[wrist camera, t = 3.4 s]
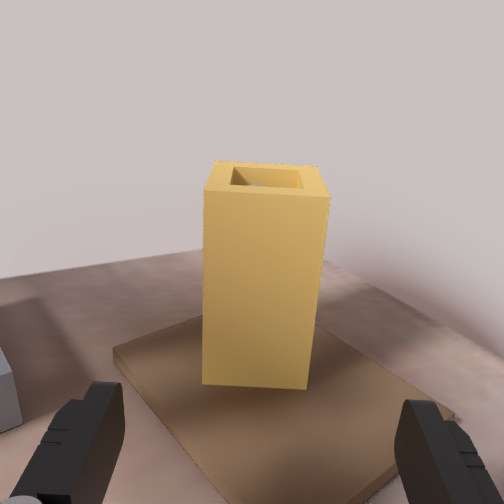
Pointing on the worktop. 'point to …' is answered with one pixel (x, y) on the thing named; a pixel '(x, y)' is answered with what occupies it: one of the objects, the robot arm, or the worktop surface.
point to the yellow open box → (261, 272)
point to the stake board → (276, 420)
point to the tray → (8, 397)
